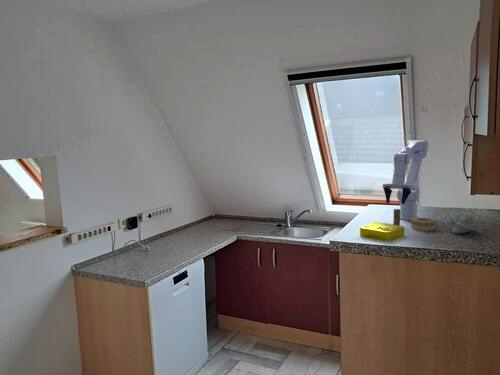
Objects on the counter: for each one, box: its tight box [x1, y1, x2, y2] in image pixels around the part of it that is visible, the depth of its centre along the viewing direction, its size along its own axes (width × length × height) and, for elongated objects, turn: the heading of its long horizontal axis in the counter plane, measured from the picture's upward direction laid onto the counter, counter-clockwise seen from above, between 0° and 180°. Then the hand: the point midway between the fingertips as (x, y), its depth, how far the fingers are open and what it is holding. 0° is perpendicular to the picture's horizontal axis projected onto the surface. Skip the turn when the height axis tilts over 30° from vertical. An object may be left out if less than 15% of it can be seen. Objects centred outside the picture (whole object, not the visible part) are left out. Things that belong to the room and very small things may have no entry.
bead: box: [410, 217, 436, 232], centre depth 195 cm, size 10×10×4 cm
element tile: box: [359, 221, 406, 242], centre depth 184 cm, size 15×15×5 cm
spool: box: [448, 213, 475, 235], centre depth 186 cm, size 14×10×10 cm
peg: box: [393, 208, 401, 226], centre depth 202 cm, size 3×3×8 cm
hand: (395, 203), depth 200 cm, fingers open, 7 cm apart
